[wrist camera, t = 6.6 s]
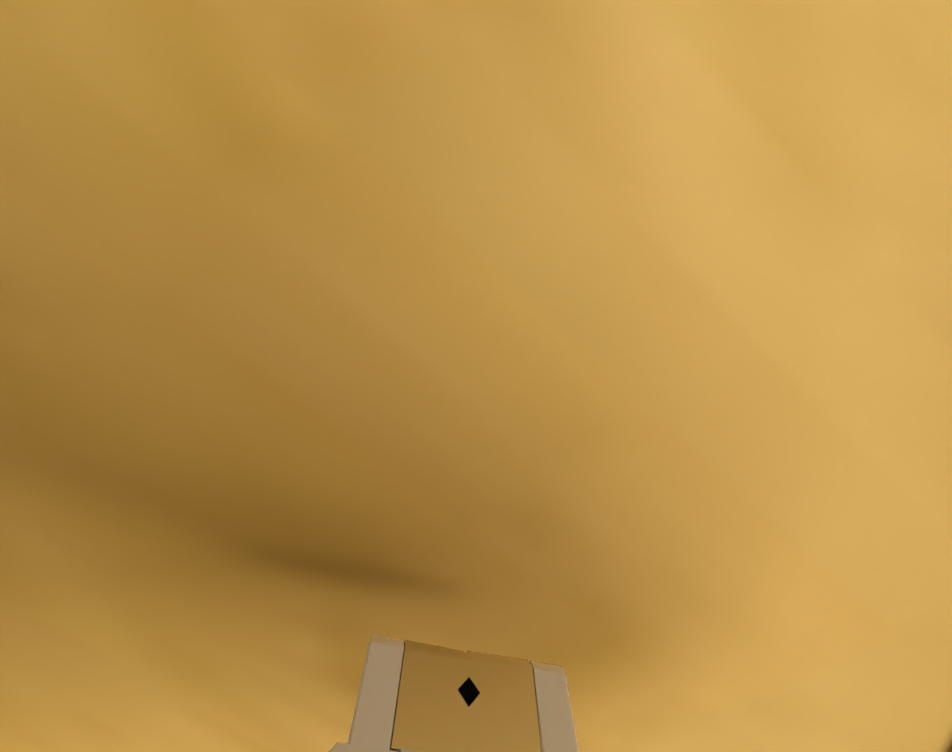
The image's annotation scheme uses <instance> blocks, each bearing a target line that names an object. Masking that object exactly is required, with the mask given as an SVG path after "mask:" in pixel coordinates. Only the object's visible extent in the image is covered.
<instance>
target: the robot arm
mask: <svg viewBox="0 0 952 752" xmlns="http://www.w3.org/2000/svg"><path fill="white" fill-rule="evenodd" d="M329 752H579V750H578V744H577V738H576V732H575V726H574V720H573V714H572V708H571V703H570V697H569V691H568V685H567V679H566V673H565V671H564V669H563V668H562V666H558V665H552V664H546V663H540V662H534V661H528V660H525V659H519V658H512V657H505V656H499V655H492V654H486V653H479V652H472V651H467V652H465V651H460V650H454V649H449V648H444V647H439V646H434V645H429V644H424V643H418V642H413V641H408V640H405V642H404V640H402V639H396V638H391V637H385V636H379V635H374V634H372V636H371V639H370V642H369V646H368V651H367V655H366V660H365V665H364V670H363V674H362V679H361V684H360V689H359V693H358V698H357V703H356V707H355V712H354V717H353V722H352V726H351V731H350V736H349V740H348V743H339V742H337V743H336V744H335V745H334V746H333V747H332V749H331V750H330V751H329Z"/></svg>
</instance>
